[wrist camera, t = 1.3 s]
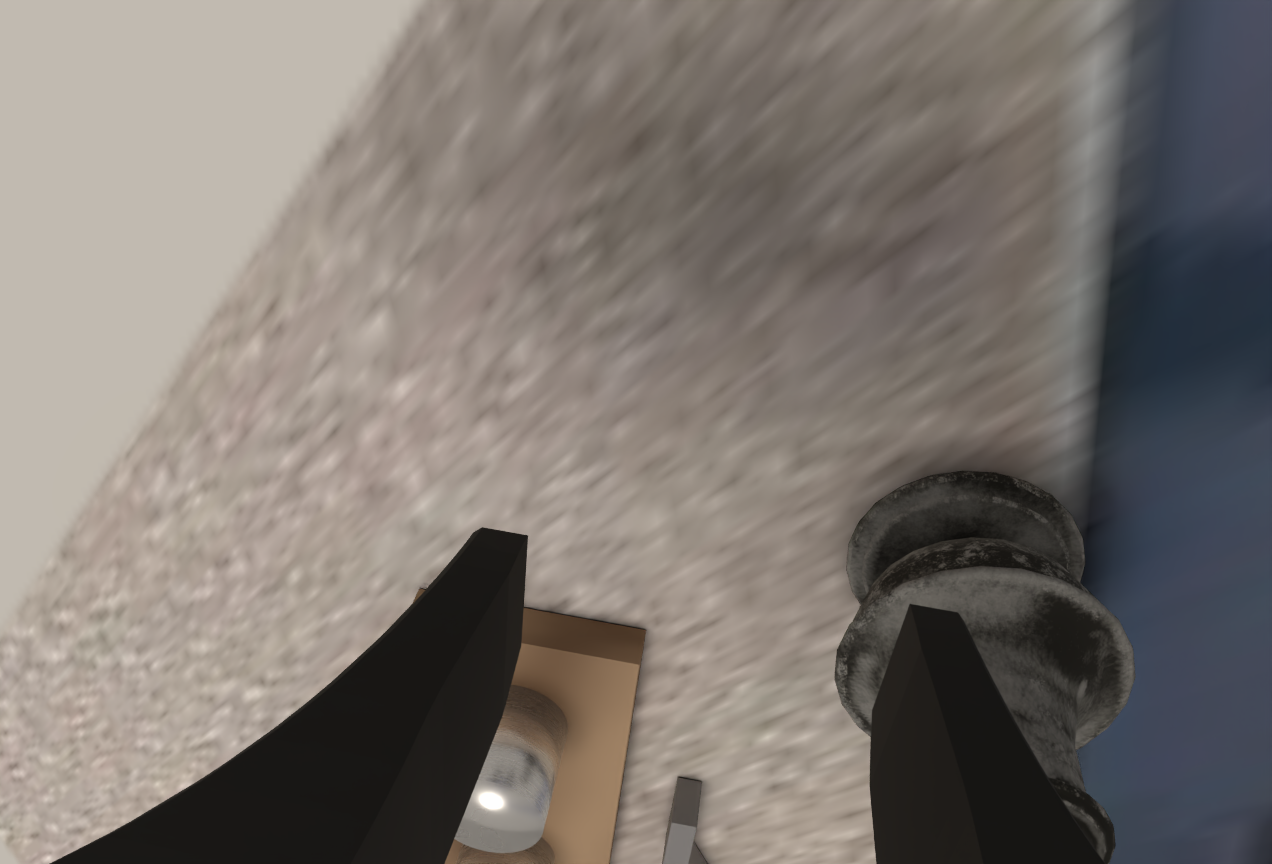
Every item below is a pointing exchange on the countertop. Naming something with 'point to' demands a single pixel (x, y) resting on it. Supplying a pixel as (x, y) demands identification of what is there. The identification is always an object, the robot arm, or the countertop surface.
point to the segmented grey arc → (683, 825)
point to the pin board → (597, 722)
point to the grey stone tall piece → (994, 614)
